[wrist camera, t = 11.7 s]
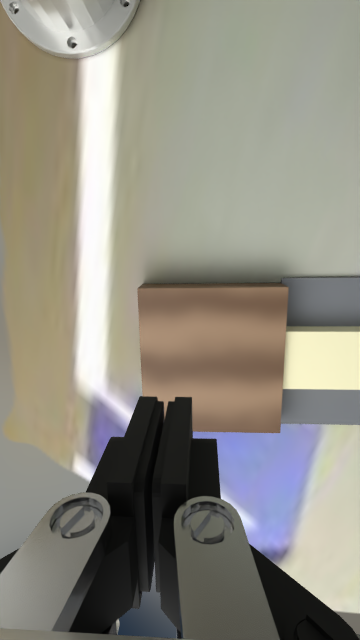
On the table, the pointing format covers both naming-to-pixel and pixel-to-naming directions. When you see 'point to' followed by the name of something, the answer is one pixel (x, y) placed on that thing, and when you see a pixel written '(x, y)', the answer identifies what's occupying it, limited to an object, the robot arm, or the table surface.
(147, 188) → the table surface
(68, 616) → the robot arm
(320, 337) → the notepad
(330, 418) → the mat
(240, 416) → the block
